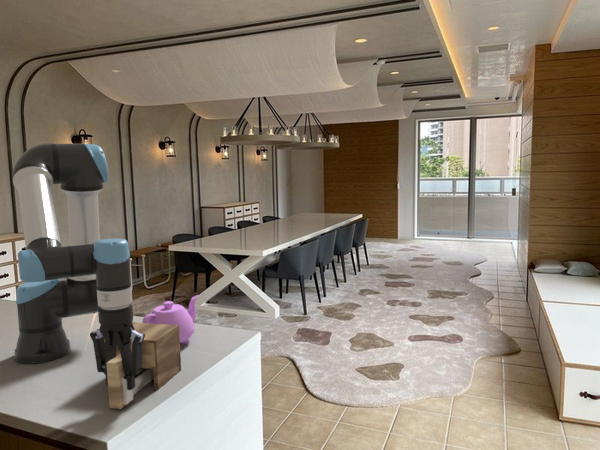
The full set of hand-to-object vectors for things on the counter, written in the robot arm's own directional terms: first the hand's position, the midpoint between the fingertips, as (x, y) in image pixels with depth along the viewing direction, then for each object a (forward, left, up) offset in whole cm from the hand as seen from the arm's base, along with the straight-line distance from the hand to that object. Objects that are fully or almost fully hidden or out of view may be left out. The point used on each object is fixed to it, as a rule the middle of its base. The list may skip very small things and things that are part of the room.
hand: (121, 400), depth 112 cm
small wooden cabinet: (-4, +15, -1) cm, 16 cm away
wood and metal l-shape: (0, +6, -1) cm, 6 cm away
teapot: (-9, +40, -2) cm, 42 cm away
